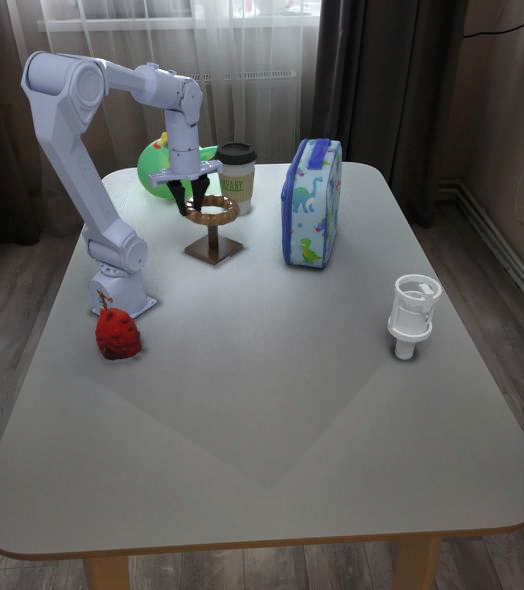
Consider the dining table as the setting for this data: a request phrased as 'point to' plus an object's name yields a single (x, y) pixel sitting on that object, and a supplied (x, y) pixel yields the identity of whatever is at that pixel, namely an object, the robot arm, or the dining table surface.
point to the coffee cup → (237, 172)
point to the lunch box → (311, 203)
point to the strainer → (412, 313)
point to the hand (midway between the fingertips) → (190, 212)
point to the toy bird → (164, 166)
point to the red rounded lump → (116, 332)
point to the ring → (214, 218)
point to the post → (213, 247)
